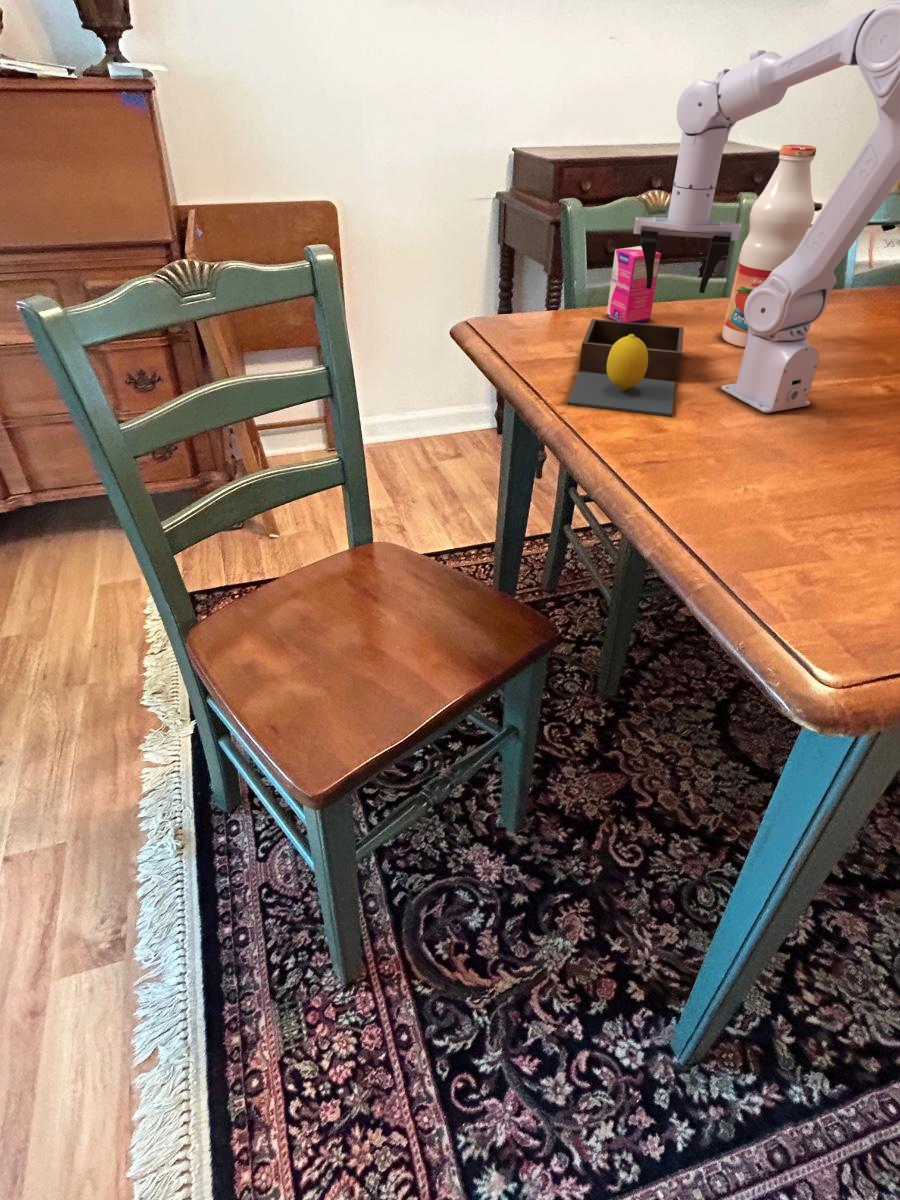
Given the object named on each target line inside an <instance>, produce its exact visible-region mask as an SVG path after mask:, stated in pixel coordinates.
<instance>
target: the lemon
mask: <svg viewBox="0 0 900 1200" xmlns="http://www.w3.org/2000/svg"><path fill="white" fill-rule="evenodd" d="M647 366H648V352H647V348H646V345H645V344H644V343H643V341H642V340H640V339H639V338H637V337H635V335H634V334H629V335H628V336H626V337H623V338H621V339H619V340H618V341H617V342H616V343H615V344H614V345H613V346H612V348H611V350H610V353H609V356H608V360H607V375H608V377H609V379H610V381H611V382H612V383H613V384H614V385H615V386H617V387H618V388H619V389H620V390H621V391H626V390H627V389H628V388H631V387H634V386H636V385H637V384H638V383H639V382H640V381H641V380H642V379H643V377H644V375H645V373H646V370H647Z"/></svg>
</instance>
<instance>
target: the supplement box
mask: <svg viewBox="0 0 900 1200" xmlns="http://www.w3.org/2000/svg"><path fill="white" fill-rule="evenodd" d="M661 255H662V253H661V252H658V251H656V255H655V261H654V272H653V281H652V286H651V289H647V288H646V286H647V274H646V265H645V259H644V254H643V250H642V247H641V245H638V246H632V247H631V246H630V247H624V248H616V249H615V250H614V256H613V262H612V265H613V266H612V271H611V279H610V286H609V294H608V302H607V310H606V317H608V318H610V319H611V320H613V321H622V322H632V323H643V324H644V323H649V322H651V317H652V310H653V306H654V305H653V304H654V300H655V292H656V287H657V279H658V275H659V269H660V262H661Z"/></svg>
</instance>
